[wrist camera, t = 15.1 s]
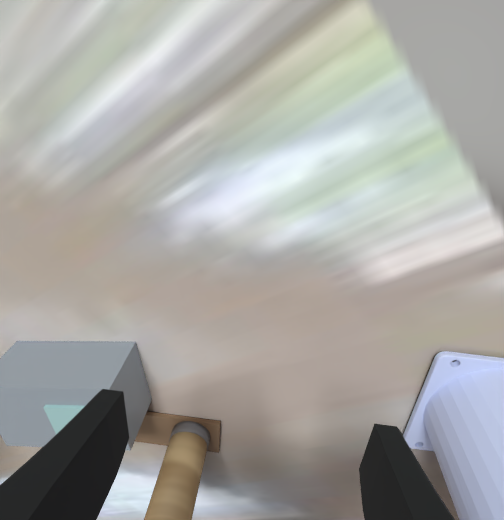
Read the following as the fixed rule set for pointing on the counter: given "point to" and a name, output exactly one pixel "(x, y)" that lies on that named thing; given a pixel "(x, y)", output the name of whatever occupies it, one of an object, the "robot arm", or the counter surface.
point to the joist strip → (161, 425)
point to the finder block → (66, 386)
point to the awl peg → (180, 473)
